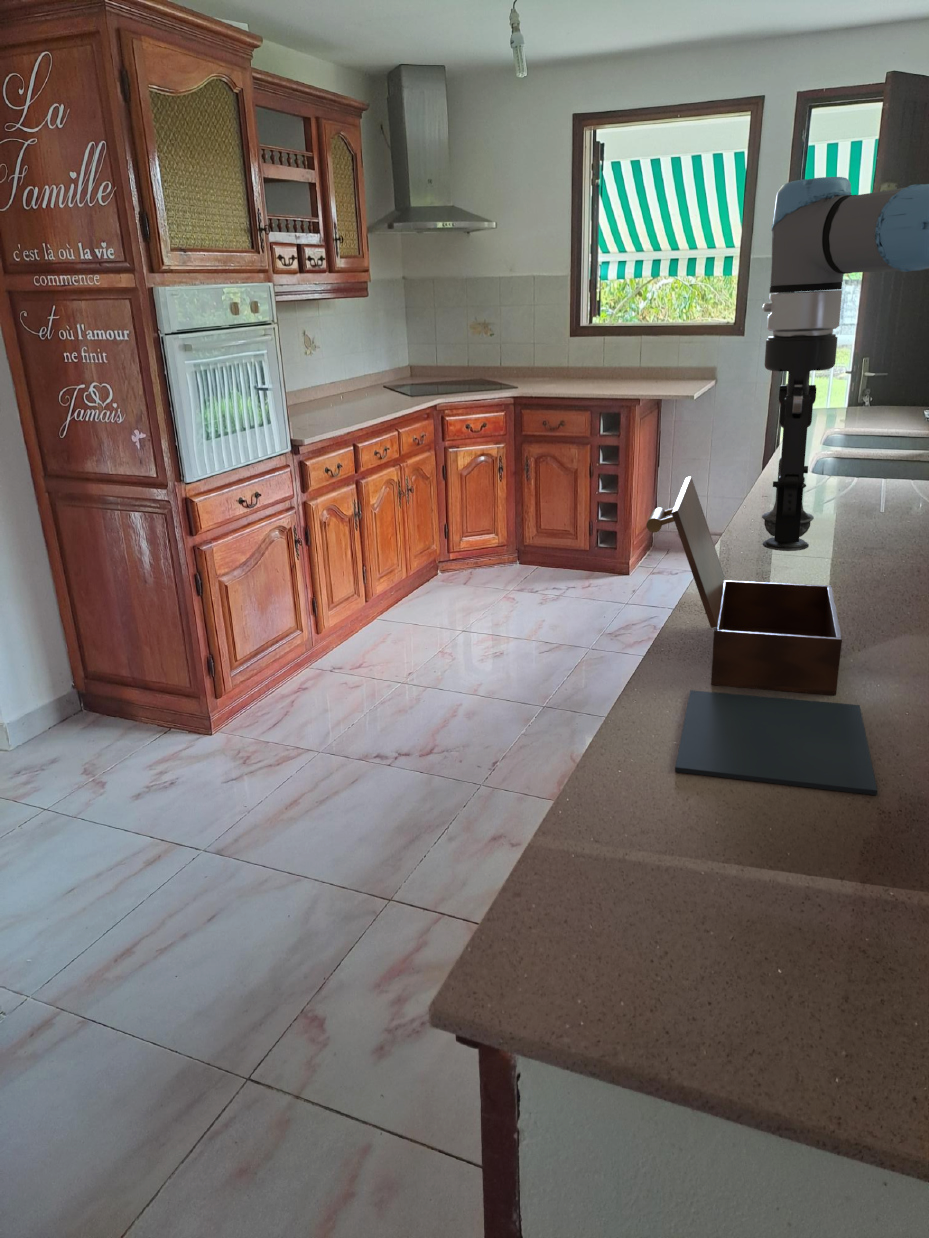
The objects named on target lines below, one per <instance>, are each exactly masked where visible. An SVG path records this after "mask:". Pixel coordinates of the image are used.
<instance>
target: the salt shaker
mask: <svg viewBox="0 0 929 1238" xmlns="http://www.w3.org/2000/svg"><path fill="white" fill-rule="evenodd" d="M781 460H782V457H781V456H780V458H779V460H778V469H777V470H778V472H777V481H779V477H780V474H781ZM802 486H803V489H805V488H806V487H807V484H806V483H805V482H804V484H803V485H802ZM777 496H778V487H775V502H774V505H773V507H772V509H771V510H770V511H767V512H764V513H763V514H762V515H761V519H762V520H764V521H763V524H764V527H765V531H766V532H767V533H768V534H769V535H770V536H772V537H769V538H767V539H766V540H764V541H763V542H762V547H764V548H766V549H769V550H774V551H779V552H798V551H803V550H807V549H808V548H809V547H810V544H809V543H808V542H807V541H805V540H804V539H803V538H801V537H803V536H804V535H805V534H806V533H808V531H809V529H810V527H811V522H812V521H814V519H815V518H814V517H815V516H814V515H812V514H811V513H808V512H806V511H805V510H804V505H803V503H802V508H801V521H800V533H799V542H778V541H774V539H775V524H776V510H777ZM803 496H804V495H803ZM803 496H802V499H803Z"/></svg>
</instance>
